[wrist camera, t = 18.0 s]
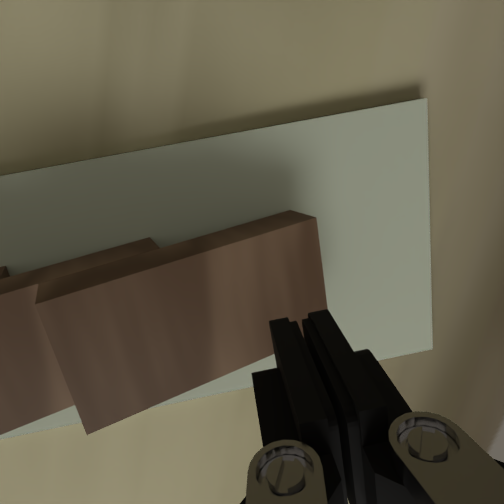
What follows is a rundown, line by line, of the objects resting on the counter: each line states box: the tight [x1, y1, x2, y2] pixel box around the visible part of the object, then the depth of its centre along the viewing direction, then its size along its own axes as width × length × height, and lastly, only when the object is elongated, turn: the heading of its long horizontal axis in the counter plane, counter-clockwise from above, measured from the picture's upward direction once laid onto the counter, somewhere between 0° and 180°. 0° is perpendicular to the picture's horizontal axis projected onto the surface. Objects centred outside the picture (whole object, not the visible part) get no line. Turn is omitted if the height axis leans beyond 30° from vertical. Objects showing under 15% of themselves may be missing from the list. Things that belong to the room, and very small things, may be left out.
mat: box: [0, 98, 433, 439], centre depth 18 cm, size 32×12×1 cm, turn 100°
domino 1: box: [0, 237, 159, 435], centre depth 15 cm, size 2×5×10 cm
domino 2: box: [35, 210, 328, 435], centre depth 15 cm, size 2×5×10 cm
